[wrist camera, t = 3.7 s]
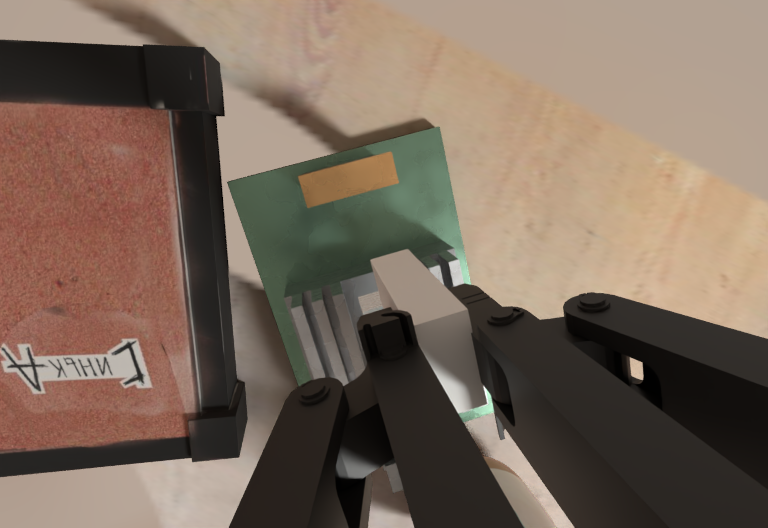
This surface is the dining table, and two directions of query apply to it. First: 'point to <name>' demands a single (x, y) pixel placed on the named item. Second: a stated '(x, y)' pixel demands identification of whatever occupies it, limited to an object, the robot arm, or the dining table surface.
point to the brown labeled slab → (113, 259)
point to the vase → (520, 496)
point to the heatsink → (348, 244)
